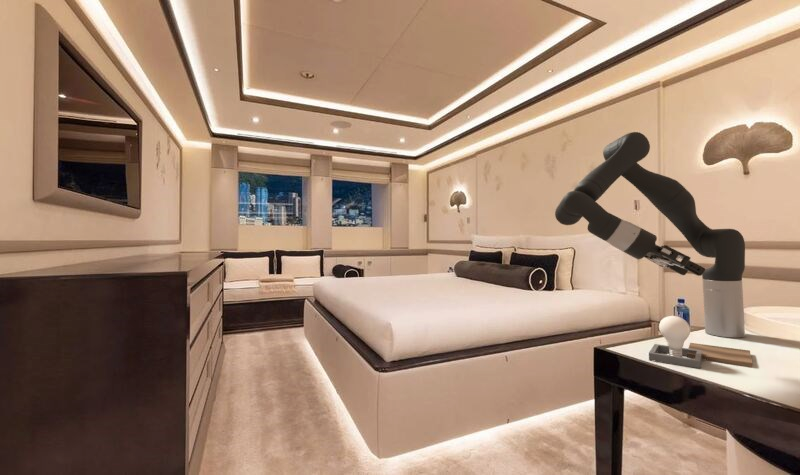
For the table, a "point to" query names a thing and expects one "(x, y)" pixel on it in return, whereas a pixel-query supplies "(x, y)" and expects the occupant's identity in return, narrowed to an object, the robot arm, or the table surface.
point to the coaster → (722, 354)
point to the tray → (675, 359)
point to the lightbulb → (674, 333)
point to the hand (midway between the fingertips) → (694, 272)
